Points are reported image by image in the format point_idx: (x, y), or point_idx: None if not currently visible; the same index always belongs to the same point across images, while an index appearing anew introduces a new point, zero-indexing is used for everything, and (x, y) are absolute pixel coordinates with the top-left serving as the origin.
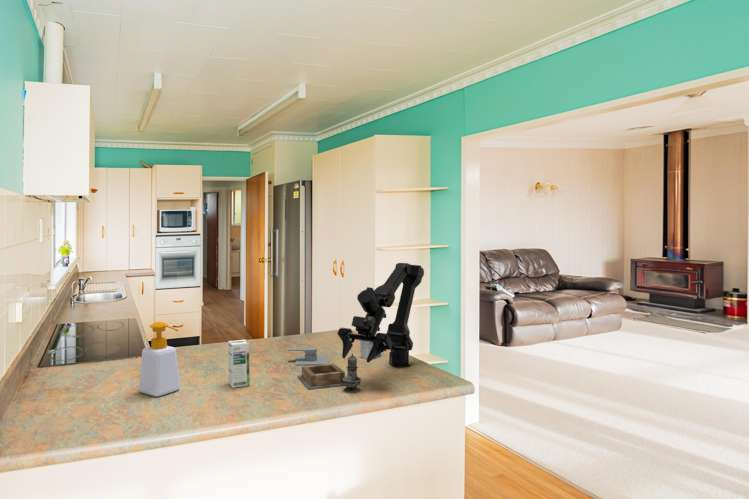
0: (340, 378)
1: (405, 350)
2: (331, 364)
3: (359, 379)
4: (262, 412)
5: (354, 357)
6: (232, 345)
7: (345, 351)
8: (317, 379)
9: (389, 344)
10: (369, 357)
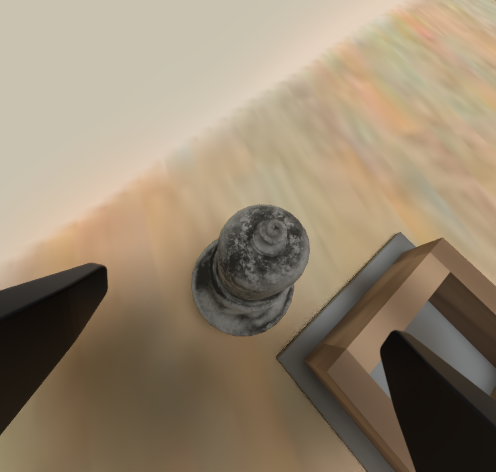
0: (330, 345)
1: None
2: None
3: (198, 281)
4: (387, 57)
5: (237, 229)
6: None
7: (446, 403)
8: (409, 262)
9: None
10: (43, 278)
